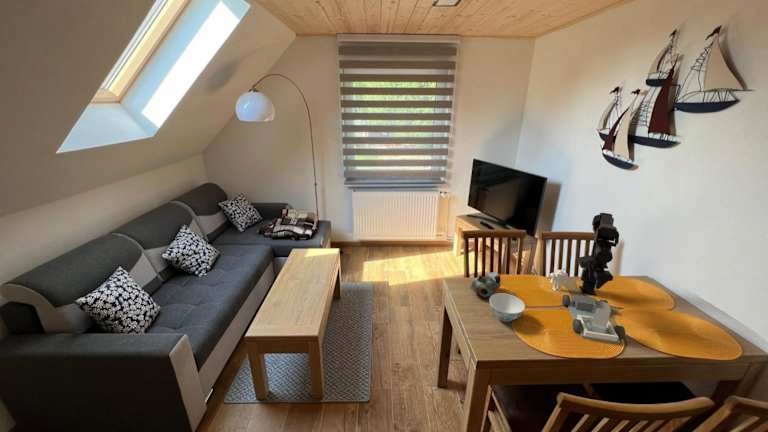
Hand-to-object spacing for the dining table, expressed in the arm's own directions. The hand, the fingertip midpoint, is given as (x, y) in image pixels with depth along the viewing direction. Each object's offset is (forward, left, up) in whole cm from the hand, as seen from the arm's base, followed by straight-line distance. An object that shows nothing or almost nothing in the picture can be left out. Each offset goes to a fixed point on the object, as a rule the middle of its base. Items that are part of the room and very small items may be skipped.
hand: (593, 283), depth 152 cm
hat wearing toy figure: (-13, -11, -13) cm, 21 cm away
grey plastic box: (+18, -2, -12) cm, 22 cm away
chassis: (+10, -2, -13) cm, 17 cm away
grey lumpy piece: (-1, -47, -13) cm, 49 cm away
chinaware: (+18, -39, -13) cm, 45 cm away
